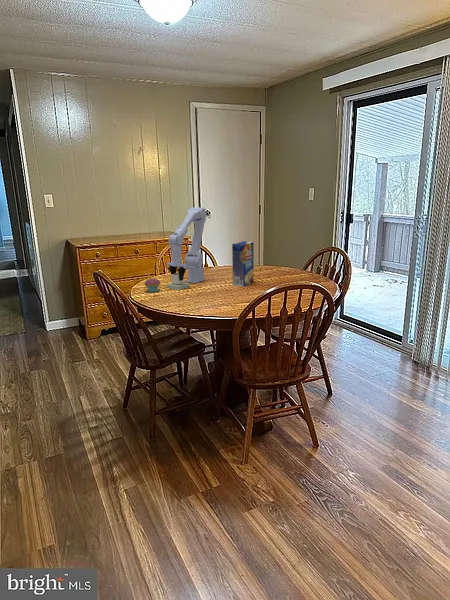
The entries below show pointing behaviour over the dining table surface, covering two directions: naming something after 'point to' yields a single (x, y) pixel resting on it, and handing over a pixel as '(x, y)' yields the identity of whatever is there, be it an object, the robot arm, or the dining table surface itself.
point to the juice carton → (243, 263)
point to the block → (176, 278)
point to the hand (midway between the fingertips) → (177, 279)
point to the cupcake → (152, 284)
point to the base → (178, 286)
